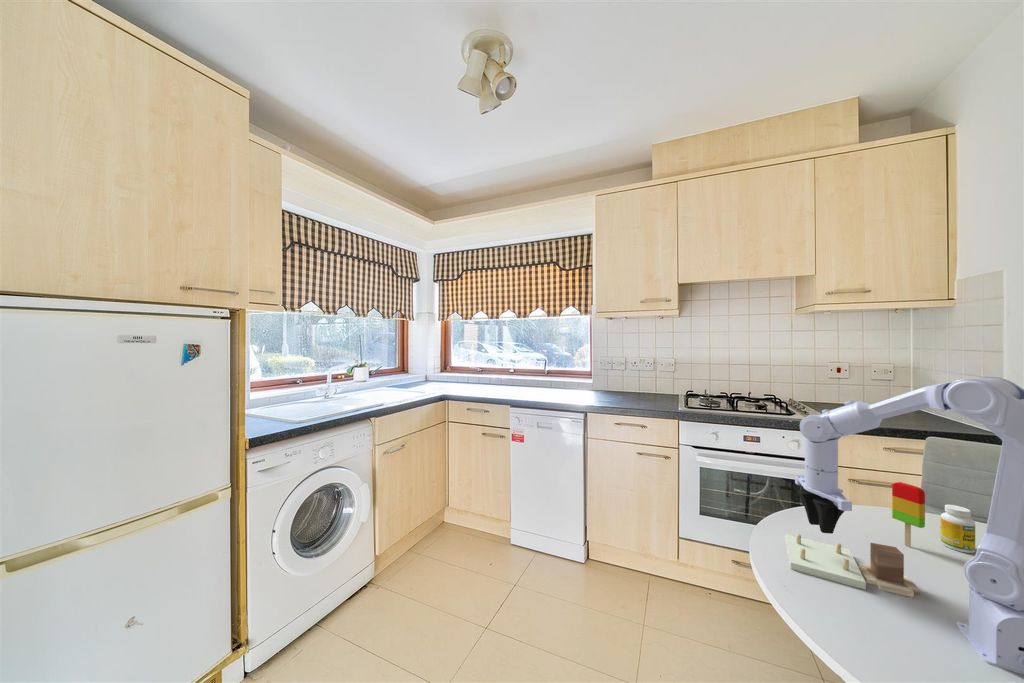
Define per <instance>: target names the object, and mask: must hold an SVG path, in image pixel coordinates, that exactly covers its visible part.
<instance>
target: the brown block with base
mask: <svg viewBox="0 0 1024 683" xmlns="http://www.w3.org/2000/svg"><path fill="white" fill-rule="evenodd" d="M869 547H870V558H869V559H870V560H869V561H870V563H869V564H866V563H862V565H861V566H859V565H857V566H858V568H859V570H860V572H861V574H862V576H863V578H864V580H865V582H866V584H869V585H873V586H877V587H878V589H879V590H880V591H884V592H889V593H892V594H898V595H901V596H907V597H911V598H914V597H915V594H916V595H921V590H920V588H919V587H918V586H917V585H916V584H915V583H914V582H913V581H912V580H911V579H910V578H909V577H908V576H907V575H906V574H905V566H904V565H905V562H904V561H905V560H904V559H905V556H904V554H903V553H902V551H900V550H899V548H897V546H892V545H885V544H881V543H875V542H870V546H869Z"/></svg>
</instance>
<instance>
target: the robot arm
mask: <svg viewBox="0 0 1024 683" xmlns="http://www.w3.org/2000/svg"><path fill="white" fill-rule="evenodd" d="M843 405H844V406H839V407H836V408H833V409H828V408H827V409H823V410H821V414H809V415H807V416H806V417H804V418H802V419H801V420H800V422H799V430H800V433H801V434H802V436H803V437H804V475H795V476H794V478H795V479H794V483H795V484H796V485H797V486H802V487H803V489H798V490H797V491H796V492H797V495H798V496H799V498H800V501H802V504H803V507H804V510H805V514H806V517H807V520H808V523H809V524H810V525H812V526H813V525H814V526H819V531H820V532H821V533H822V534H833V533H834V531H835V528H836V526H837V523H838V521H839V519H840V518H841V516H842V515H843V514H844V513H845V512H852V511H853V502H852V501H850V500H849V499H848V498H847V497H846V496H845V495H844V494H843V492H844V490H843V489H842V488H840V487H839V440H840V439H841V438H842V437H846V436H847V437H848V436H851V435H855V434H859V433H863V432H867V431H871V430H874V429H877V428H879V427H880V425H881V423H882V421H883V420H884V419H888V418H893V417H896V416H900V415H904V414H909V413H913V412H917V411H921V410H926V409H929V408H930V409H933V410H939V411H948V410H953V411H954V412H956V413H958V414H959V415H961V416H964V417H965V418H968V419H970V420H973V421H975V422H976V423H979V424H981V425H982V426H983V427H985V428H986V429H988V430H989V431H990V432H992V434H994V436H996V437H997V438H999V439H1000V441H1001V442H1002V443H1001V447H1000V452H999V459H998V464H997V468H996V469H997V470H996V474H995V480H994V486H993V491H992V494H991V495H992V496H991V501H990V506H989V507H990V508H989V512H988V518H987V522H986V528H985V533H984V535H983V536H982V538H981V539H980V542H979V544H978V546H977V548H976V551H975V552H976V553H975V555H974V556H973V557H972V558H970V559H969V560H967V561H966V562H965V564H964V566H963V573H964V577H965V579H966V580H967V582H968V624H966V623H963V622H960V621H957V622H956V626H957V627H958V629H959V630H960V631H961V633H962V634H963V635H964V637H965V638H966V639H967V641H968V642H969V644H971V646H972V647H973V648H974V650H975V651H976V653H977V654H978V656H980V658H981V659H982V661H983V662H984V663H986V664H988V665H990V666H995V667H996V668H997V667H998V668H1001V669H1004V670H1006V671H1010V672H1013V673H1017V674H1019V675H1020V674H1021V675H1024V388H1023V387H1021V386H1020V385H1018V384H1016V383H1014V382H1013V381H1011V380H1008V379H1005V378H1002V377H998V376H983V377H978V378H962V379H958V380H955V381H953V382H952V381H951V382H944V383H943V382H942V383H937V384H933V385H929V386H928V385H927V386H923V387H920V388H918V389H915V390H911V391H908V392H904V393H902V394H899V395H896V396H893V397H890V398H888V399H884V400H882V401H881V400H880V401H878V402H875V403H873V404H870V403H868V402H865V401H862V400H859V401H856V402H855V400H848V401H845V402H844V403H843Z"/></svg>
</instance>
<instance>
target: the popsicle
mask: <svg viewBox="0 0 1024 683" xmlns="http://www.w3.org/2000/svg"><path fill="white" fill-rule="evenodd" d="M891 489H892V490H891V498H892V499H891V518H892V519H895V520H897V521H900V522H903V523H904V546H906V547H908V548H910V547H911V546H912V539H911V538H912V530H911V529H912V526H914V527H915V528H916V527H917V528H919V529H923V528H925V527H926V492H925V491H924V489H923V488H921V487H918V486H915V485H913V484H908V483H905V482H903V481H902V482H901V481H898V482H897V481H895V482H894V483H892V486H891Z"/></svg>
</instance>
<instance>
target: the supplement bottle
mask: <svg viewBox="0 0 1024 683" xmlns="http://www.w3.org/2000/svg"><path fill="white" fill-rule="evenodd" d="M944 511H945V512H943V513H941V514H940V543H941V544H942V545H943V546H945V547H946V548H949V549H951V550H954V551H957V552H961V553H966V554H973V553H975V552H976V523H975V521H974V520H973V519H972V518H971V516H972V511H971V509H969V508H966V507H963V506H960V505H955V504H944Z"/></svg>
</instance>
